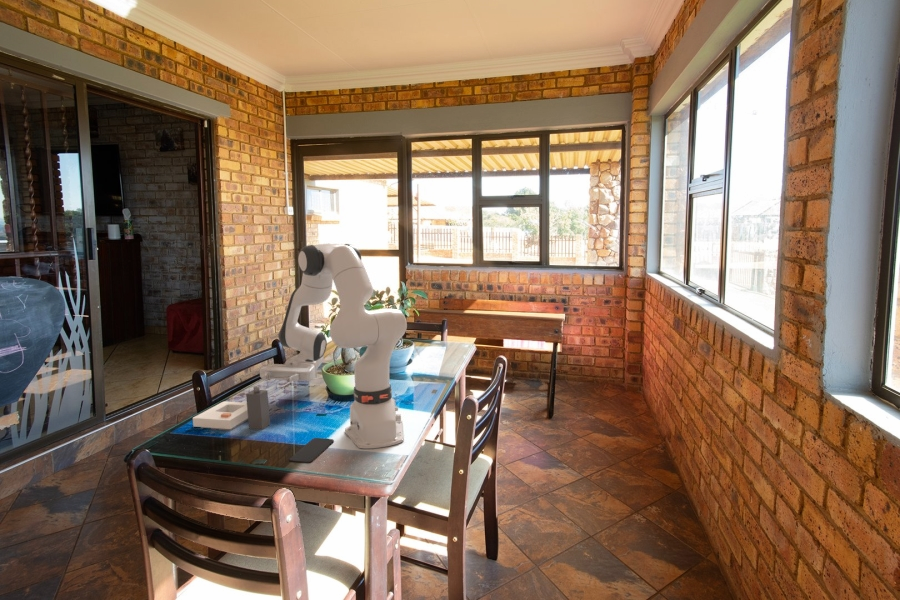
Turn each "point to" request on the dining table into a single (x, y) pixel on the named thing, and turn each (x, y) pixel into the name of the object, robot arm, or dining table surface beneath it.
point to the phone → (311, 450)
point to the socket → (222, 416)
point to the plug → (258, 409)
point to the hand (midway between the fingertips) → (276, 379)
